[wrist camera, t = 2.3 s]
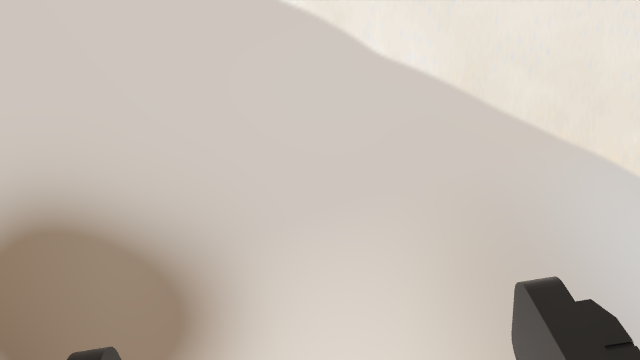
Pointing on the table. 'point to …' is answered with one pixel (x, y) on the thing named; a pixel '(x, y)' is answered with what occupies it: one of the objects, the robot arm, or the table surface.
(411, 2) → the table surface
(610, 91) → the table surface
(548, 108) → the table surface
